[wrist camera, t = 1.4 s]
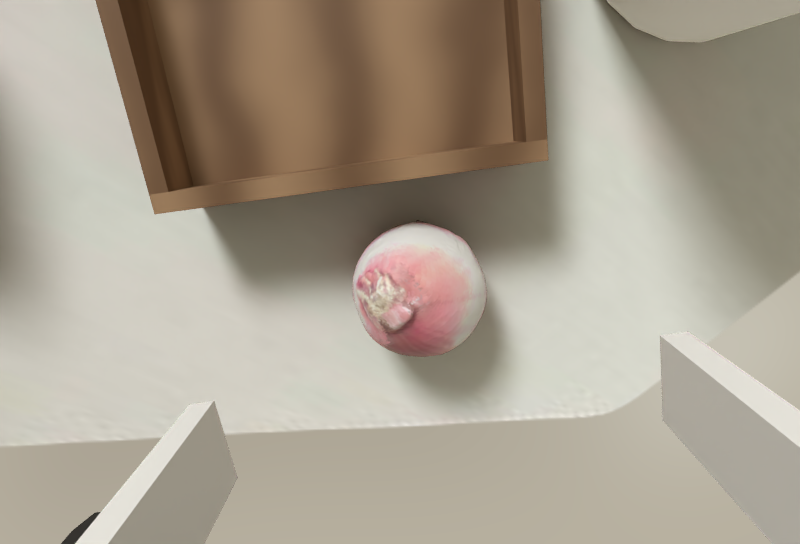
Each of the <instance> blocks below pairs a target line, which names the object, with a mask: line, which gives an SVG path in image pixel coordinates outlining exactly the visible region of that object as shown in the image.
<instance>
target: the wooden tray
mask: <svg viewBox="0 0 800 544" xmlns="http://www.w3.org/2000/svg"><path fill="white" fill-rule="evenodd" d="M96 4H97V7H98V11H99V15H100V18H101V22H102V25H103V29H104V33H105V36H106V40H107V44H108V47H109V51H110V54H111V58H112V62H113V65H114V69H115V73H116V76H117V80H118V83H119V87H120V91H121V94H122V98H123V101H124V105H125V109H126V112H127V116H128V120H129V123H130V127H131V130H132V134H133V138H134V141H135V145H136V149H137V152H138V156H139V159H140V163H141V167H142V170H143V174H144V177H145V181H146V185H147V188H148V192H149V196H150V199H151V203H152V206H153V210H154V214H160V213H167V212H174V211H182V210H189V209H196V208H204V207H211V206H218V205H225V204H233V203H240V202H247V201H255V200H262V199H269V198H276V197H284V196H291V195H298V194H306V193H313V192H320V191H328V190H335V189H342V188H349V187H357V186H364V185H371V184H379V183H386V182H393V181H401V180H408V179H415V178H422V177H430V176H437V175H444V174H452V173H459V172H466V171H473V170H481V169H488V168H495V167H503V166H510V165H517V164H525V163H532V162H539V161H546V160H548V144H547V125H546V105H545V86H544V66H543V47H542V27H541V8H540V0H96Z"/></svg>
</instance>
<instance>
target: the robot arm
mask: <svg viewBox="0 0 800 544" xmlns="http://www.w3.org/2000/svg"><path fill="white" fill-rule="evenodd" d="M660 351H661V383H662V415H663V416H662V417H663V421H664V422H665V424H666V425H667V426H668V427H669V428H670V429H671V430H672V431H673V433H675V435H676V436H677V437H678V438H679V439H680V440H681V441H682V443H683V444H684V445H685V446H686V447H687V448H688V449H689V451H690V452H691V453H692V454H693V455H694V456H695V457H696V459H697V460H698V461H699V462H700V463H701V464H702V465H703V466H704V467H705V469H706V470H707V471H708V472H709V473H710V474H711V475H712V477H713V478H714V479H715V480H716V481H717V482H718V483H719V484H720V486H721V487H722V488H723V489H724V490H725V491H726V492H727V494H728V495H729V496H730V497H731V498H732V499H733V500H734V501H735V503H736V504H737V505H738V506H739V507H740V508H741V509H742V510H743V512H745V514H746V515H747V516H748V517H749V518H750V519H751V520H752V522H753V523H754V524H755V525H756V526H757V527H758V529H759V530H760V531H761V532H762V533H763V534H764V535H765V536H766V538H767V539H768V540H769V541H770V542H771V543H772V544H800V410H798V409H797V408H795V407H794V406H793V405H791V404H790V403H788V402H787V401H786V400H784V399H783V398H781V397H780V396H778V395H777V394H776V393H774V392H773V391H771V390H770V389H769V388H767V387H766V386H764V385H763V384H761V383H760V382H759V381H757V380H756V379H754V378H753V377H752V376H750V375H749V374H747V373H746V372H745V371H743V370H742V369H740V368H739V367H737V366H736V365H735V364H733V363H732V362H730V361H729V360H727V359H726V358H725V357H723V356H722V355H720V354H719V353H718V352H716V351H715V350H713V349H712V348H711V347H709V346H708V345H706V344H705V343H703V342H702V341H701V340H699V339H698V338H696V337H695V336H694V335H692V334H691V333H689V332H688V331H687V332H681V333H674V334H667V335H660ZM237 478H238V477H237V474H236V470H235V467H234V464H233V461H232V458H231V455H230V451H229V448H228V445H227V441H226V438H225V435H224V432H223V428H222V425H221V422H220V419H219V415H218V412H217V409H216V406H215V402H214V401H209V402H202V403H195V404H189V406H188V407H187V408H186V409H185V411H184V412H183V413H182V414H181V415H180V417H179V418H178V419H177V420H176V421H175V423H174V424H173V425H172V426H171V428H170V429H169V430H168V431H167V432H166V434H165V435H164V436H163V437H162V438H161V440H160V441H159V442H158V443H157V445H156V446H155V447H154V448H153V449H152V451H151V452H150V453H149V454H148V456H147V457H146V458H145V459H144V461H143V462H142V463H141V464H140V465H139V467H138V468H137V469H136V470H135V472H134V473H133V474H132V475H131V477H129V479H128V480H127V481H126V483H125V484H124V485H123V486H122V487H121V488H120V490H119V491H118V492H117V493H116V494H115V496H114V497H113V498H112V499H111V501H110V502H109V503H108V504H107V505H106V507H105V508H104V509H103V510H102V511H101V512H97V513H94V514H93V515H91V516H90V517H89V518H88V519H87V520H85V521H84V522H83V523H81V524H80V525H79V526H78V527H76V528H75V529H74V530H73V531H72V532H71V533H70V534H69V535H68V536H67V537H66V539H65V540H64V541H63V542H62V543H61V544H204V543H205V541H206V539H207V537H208V535H209V533H210V531H211V529H212V527H213V525H214V523H215V521H216V520H217V518H218V516H219V514H220V512H221V510H222V508H223V506H224V504H225V502H226V500H227V498H228V496H229V494H230V492H231V490H232V488H233V486H234V484H235V482H236V480H237Z"/></svg>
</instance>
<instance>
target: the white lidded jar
mask: <svg viewBox="0 0 800 544" xmlns="http://www.w3.org/2000/svg"><path fill="white" fill-rule="evenodd" d="M607 2H608V3H609V4H610V5H611V6H612V7H613V8H614V9H615V10H616V11H617V12H618V13H619V14H621V15H622V16H623V17H624V18H625V19H626V20H627V21H628V22H629V23H630V24H631V25H632V26H633V27H634V28H636V29H639V30H641V31H643V32H646V33H648V34H651V35H653V36H656V37H658V38H660V39H663V40H665V41H675V42H706V41H709V40H713V39H716V38H719V37H723V36H726V35H729V34H733V33H736V32H739V31H743V30H746V29H749V28H752V27H756V26H759V25H762V24H765V23H768V22H772V21H775V20H778V19H781V18H785V17H788V16H791V15H794V14H797V13H800V0H607Z"/></svg>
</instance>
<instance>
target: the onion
mask: <svg viewBox="0 0 800 544" xmlns="http://www.w3.org/2000/svg"><path fill="white" fill-rule="evenodd" d="M353 298H354V302H355V305H356V308H357V310H358V313H359V316H360V319H361V321H362V323H363V325H364V327H365V329H366V331H367V332H368V334H369V335H370V336H371V337H372V338H373V339H374V340H375V341H376V342H377V343H379V344H380V345H381V346H383V347H385V348H386V349H388V350H390V351H393V352H396V353H398V354H402V355H408V356H417V357H426V356H435V355H441V354H444V353H446V352H449V351H450V350H452V349H454V348H456V347H457V346H458V345H460V344H461V343H462V342H463V341H465V340H466V339H467V338H468V337H469V335H470V334H471V333H472V332H473V330H474V329H475V327H476V325H477V324H478V322H479V320H480V318H481V317H482V314H483V312H484V308H485V305H486V300H487V290H486V282H485V278H484V275H483V271H482V270H481V267H480V265H479V263H478V261H477V259H476V257H475V255H474V254H473V252H472V250H471V248H470V247H469V245H468V244H467V243H466V242H465V241H464V240H463V239H462V238H461V237H460V236H457V235H455V234H454V233H453V232H451V231H449V230H447V229H445V228H441V227H438V226H435V225H432V224H429V223H424V222H422V221H419V220H417V221H416V222H414V223H408V224H403V225H399V226H396V227H393V228H391V229H389V230H387V231H385V232H384V233H382V234H380V235H379V236H378V237H377V238H376V239H374V241H372V242H371V243H370V244H369V245H368V246H367V247H366V249H365V251H364V252H363V254H362V255H361V257H360V259H359V261H358V263H357V266H356V269H355V273H354V275H353Z"/></svg>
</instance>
